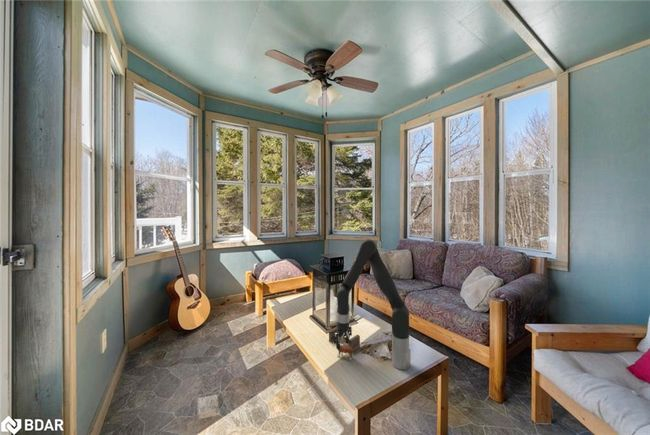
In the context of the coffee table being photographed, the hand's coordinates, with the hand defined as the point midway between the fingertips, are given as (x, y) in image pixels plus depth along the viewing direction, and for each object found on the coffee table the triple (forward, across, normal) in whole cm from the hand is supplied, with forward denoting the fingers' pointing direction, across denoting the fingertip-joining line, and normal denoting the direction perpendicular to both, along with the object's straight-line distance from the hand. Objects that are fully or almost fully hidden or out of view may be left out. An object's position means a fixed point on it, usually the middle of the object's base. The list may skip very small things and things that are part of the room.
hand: (342, 346), depth 151 cm
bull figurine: (+6, 0, 0) cm, 6 cm away
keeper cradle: (+6, +11, +8) cm, 15 cm away
